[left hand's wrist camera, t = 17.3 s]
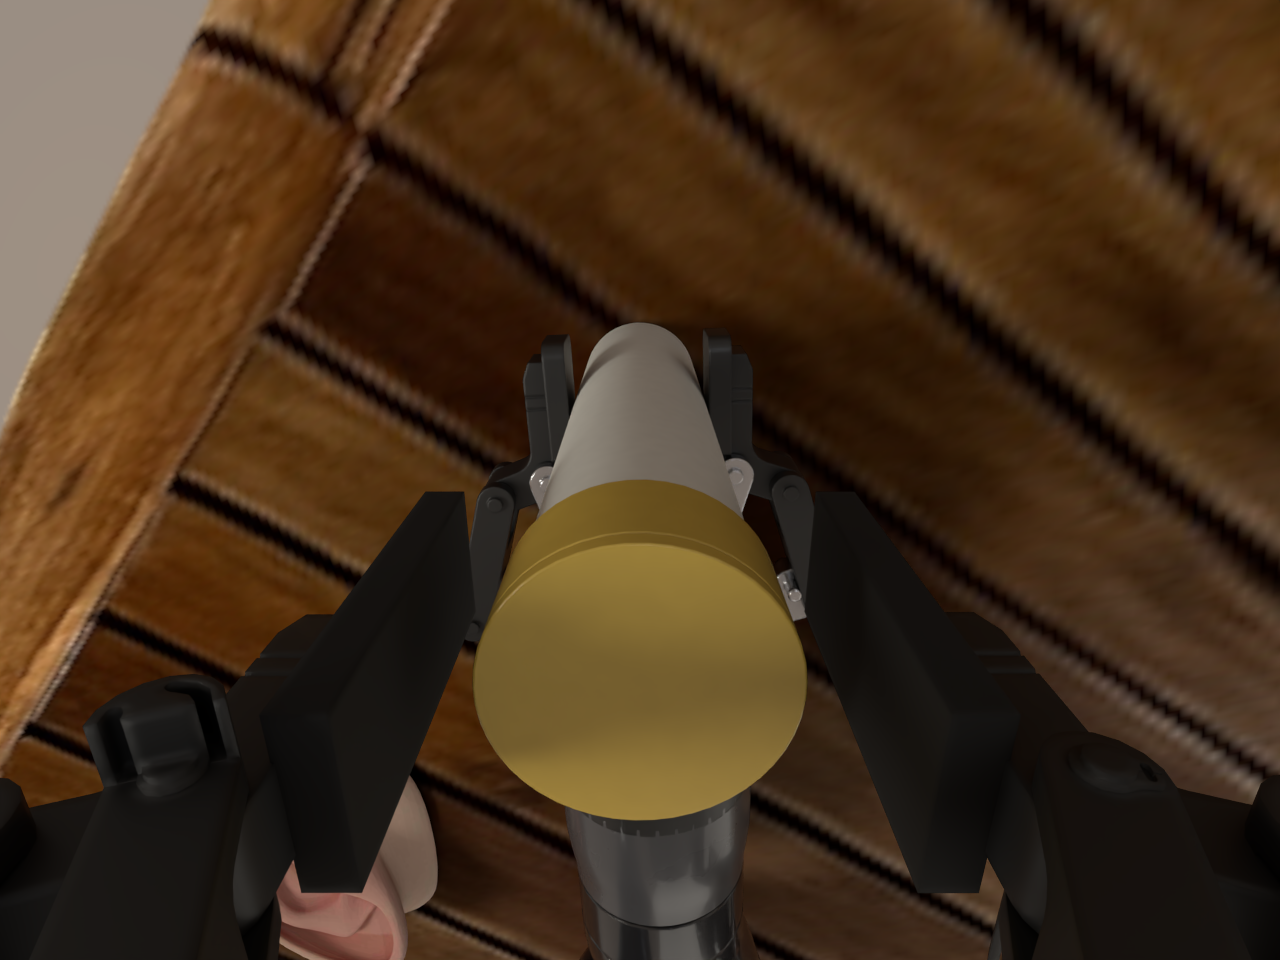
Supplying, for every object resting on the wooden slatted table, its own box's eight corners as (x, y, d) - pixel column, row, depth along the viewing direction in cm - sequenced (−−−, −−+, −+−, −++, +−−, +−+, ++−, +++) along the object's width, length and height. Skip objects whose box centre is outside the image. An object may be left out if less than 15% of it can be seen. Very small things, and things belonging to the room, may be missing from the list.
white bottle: (675, 307, 28) (739, 497, 10) (706, 409, 30) (812, 737, 11) (571, 342, 29) (450, 584, 10) (607, 440, 30) (556, 803, 12)
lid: (466, 510, 12) (426, 581, 10) (754, 451, 11) (782, 510, 9) (543, 738, 14) (524, 844, 11) (795, 693, 13) (827, 793, 11)
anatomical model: (154, 772, 31) (416, 794, 32) (205, 712, 35) (439, 732, 36) (190, 975, 36) (417, 992, 37) (231, 904, 40) (438, 919, 40)
